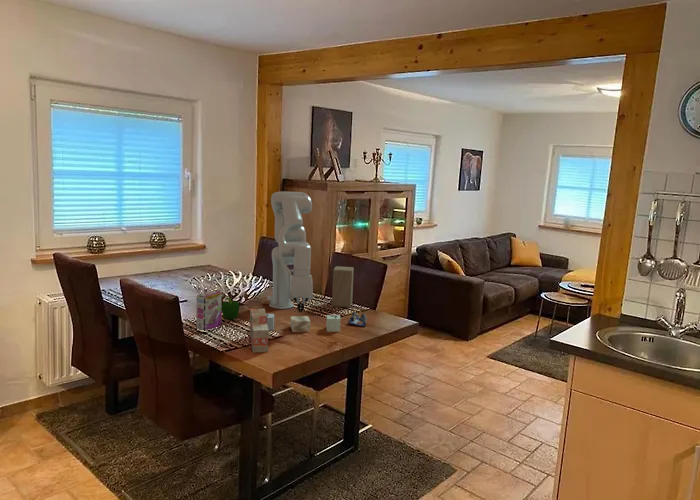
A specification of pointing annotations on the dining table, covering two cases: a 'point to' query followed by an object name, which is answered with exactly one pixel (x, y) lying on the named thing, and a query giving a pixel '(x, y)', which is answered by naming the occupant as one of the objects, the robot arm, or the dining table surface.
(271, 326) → the grey-blue numbered cube
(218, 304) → the candy bar box
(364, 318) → the snack package
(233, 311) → the bell pepper
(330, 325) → the sage numbered cube
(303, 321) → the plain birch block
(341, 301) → the wooden block
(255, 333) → the stack of blocks
